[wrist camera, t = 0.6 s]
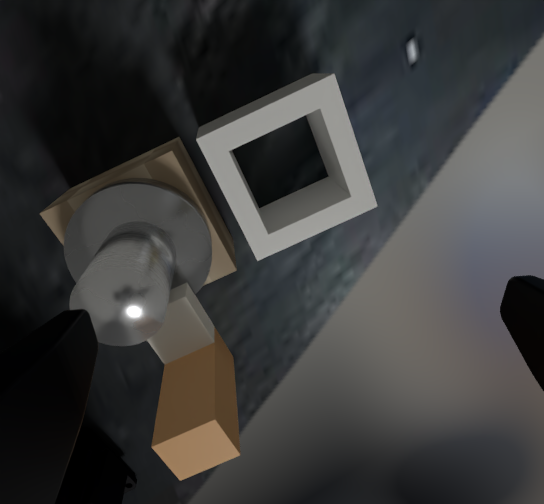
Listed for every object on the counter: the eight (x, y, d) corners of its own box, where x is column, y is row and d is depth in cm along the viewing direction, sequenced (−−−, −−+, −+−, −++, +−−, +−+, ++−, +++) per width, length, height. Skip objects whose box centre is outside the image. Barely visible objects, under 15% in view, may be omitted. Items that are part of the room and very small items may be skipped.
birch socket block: (135, 283, 23) (121, 322, 19) (69, 188, 20) (39, 213, 17) (232, 238, 23) (236, 270, 19) (179, 136, 20) (171, 150, 17)
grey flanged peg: (134, 285, 23) (91, 404, 14) (70, 191, 20) (-27, 273, 12) (230, 241, 22) (241, 338, 14) (177, 140, 20) (153, 188, 12)
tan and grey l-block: (188, 376, 19) (180, 480, 14) (137, 304, 17) (107, 396, 13) (233, 357, 19) (240, 454, 14) (186, 282, 17) (177, 365, 12)
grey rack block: (250, 231, 23) (257, 260, 19) (198, 127, 20) (196, 139, 16) (350, 184, 22) (377, 206, 19) (311, 73, 20) (334, 73, 16)
